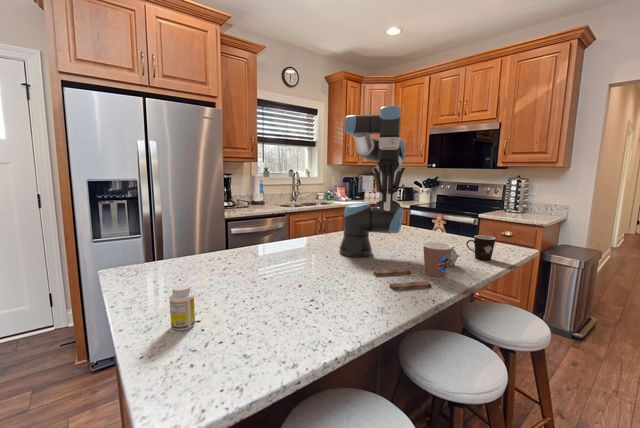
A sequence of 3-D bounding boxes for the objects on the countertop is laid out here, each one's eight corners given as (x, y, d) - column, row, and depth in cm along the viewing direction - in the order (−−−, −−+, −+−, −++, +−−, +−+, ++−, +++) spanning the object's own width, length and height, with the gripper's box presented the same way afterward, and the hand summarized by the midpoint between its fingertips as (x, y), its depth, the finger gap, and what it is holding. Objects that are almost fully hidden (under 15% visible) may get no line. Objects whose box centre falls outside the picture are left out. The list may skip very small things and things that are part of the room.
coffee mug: (493, 257, 147) (495, 236, 146) (494, 262, 140) (496, 240, 138) (465, 254, 152) (467, 233, 151) (465, 259, 144) (466, 237, 143)
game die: (448, 272, 137) (460, 253, 138) (454, 271, 128) (467, 251, 130) (429, 260, 138) (441, 241, 140) (434, 259, 130) (447, 238, 132)
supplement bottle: (188, 318, 84) (186, 281, 83) (199, 325, 81) (197, 286, 79) (167, 326, 80) (164, 287, 79) (177, 334, 77) (175, 293, 75)
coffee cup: (439, 283, 114) (442, 250, 112) (415, 275, 122) (417, 244, 120) (455, 277, 120) (457, 246, 118) (430, 270, 128) (432, 240, 126)
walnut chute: (393, 290, 106) (393, 287, 106) (373, 273, 122) (373, 270, 122) (431, 287, 109) (431, 284, 109) (406, 271, 126) (406, 268, 126)
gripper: (376, 149, 117) (374, 212, 121) (409, 149, 119) (406, 211, 124) (369, 149, 124) (367, 209, 129) (400, 148, 126) (398, 207, 131)
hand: (386, 210), depth 126 cm, fingers closed
